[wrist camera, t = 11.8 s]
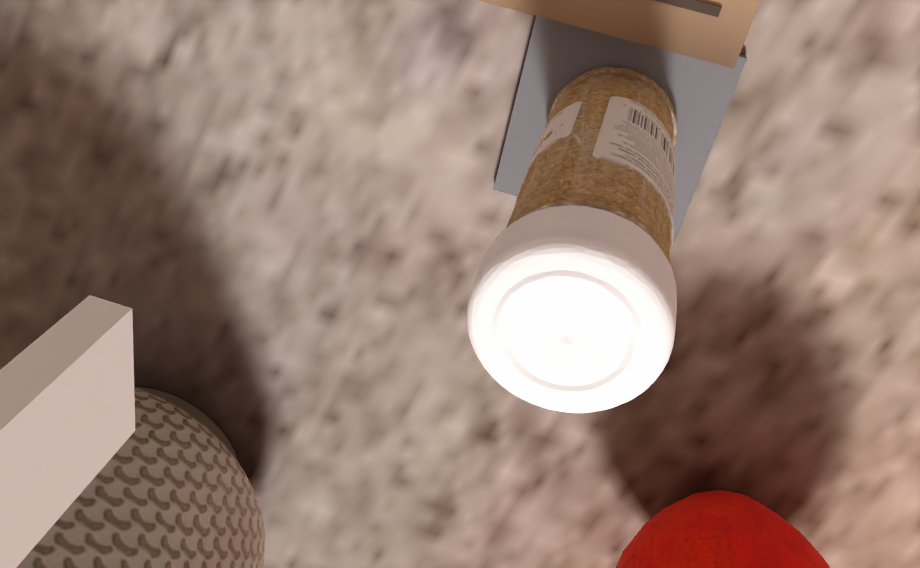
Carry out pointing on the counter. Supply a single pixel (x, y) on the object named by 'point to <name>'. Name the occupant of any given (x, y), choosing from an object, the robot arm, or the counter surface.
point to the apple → (719, 536)
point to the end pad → (580, 50)
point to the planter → (161, 500)
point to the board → (657, 22)
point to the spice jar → (586, 253)
